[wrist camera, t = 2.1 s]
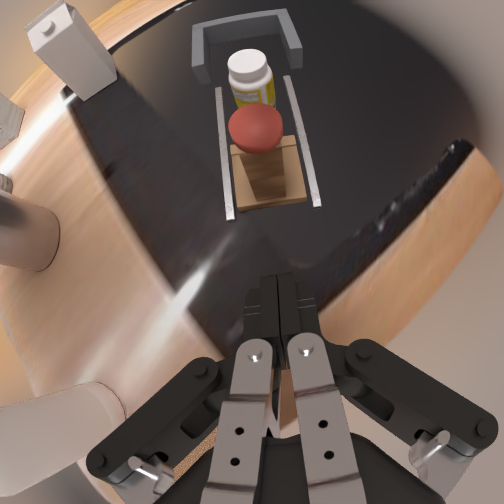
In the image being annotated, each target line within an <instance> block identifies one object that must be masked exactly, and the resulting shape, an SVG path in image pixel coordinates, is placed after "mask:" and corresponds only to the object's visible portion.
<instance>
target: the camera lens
mask: <svg viewBox="0 0 504 504" xmlns="http://www.w3.org/2000/svg"><path fill="white" fill-rule="evenodd" d="M0 189H1V190H3V191H5V192H8V193H10V194H11V192H12V181H11V180H10V179H9V178H8V177H6V176H5V175H3V174H1V173H0Z"/></svg>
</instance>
